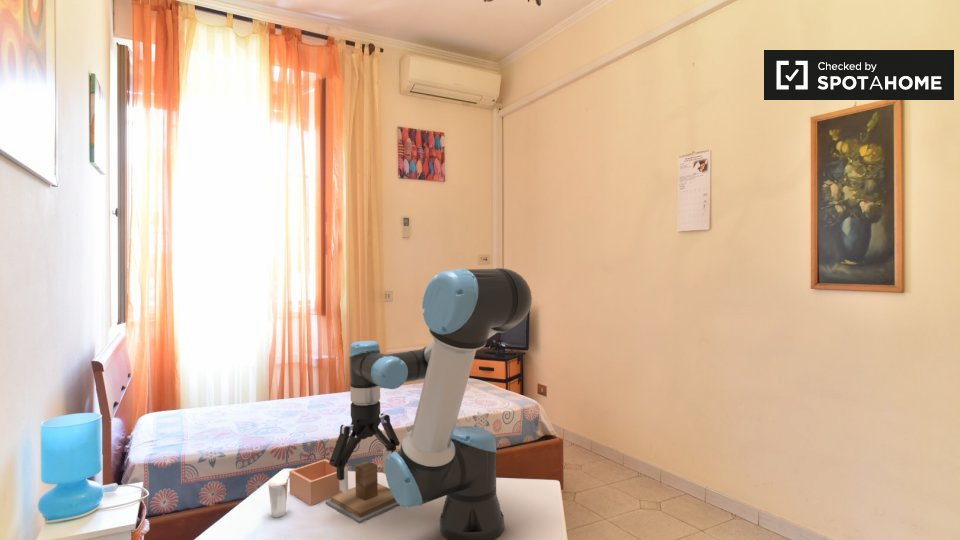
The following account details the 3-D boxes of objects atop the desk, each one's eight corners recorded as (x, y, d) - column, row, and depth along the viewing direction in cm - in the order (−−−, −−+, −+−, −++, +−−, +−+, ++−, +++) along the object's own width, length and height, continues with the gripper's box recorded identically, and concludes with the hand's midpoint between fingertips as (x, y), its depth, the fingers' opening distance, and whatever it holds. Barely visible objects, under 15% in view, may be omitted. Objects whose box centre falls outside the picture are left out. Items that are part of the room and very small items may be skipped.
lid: (402, 499, 136) (401, 464, 136) (360, 517, 127) (359, 480, 126) (372, 484, 145) (371, 452, 145) (330, 501, 135) (330, 466, 135)
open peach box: (347, 491, 143) (347, 469, 142) (310, 505, 134) (310, 482, 134) (325, 479, 150) (325, 459, 150) (289, 492, 142) (289, 470, 142)
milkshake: (285, 519, 127) (284, 479, 127) (265, 518, 128) (264, 477, 128) (294, 510, 132) (294, 471, 131) (275, 509, 133) (274, 470, 132)
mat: (407, 501, 136) (407, 499, 136) (359, 523, 125) (359, 520, 125) (373, 484, 146) (373, 482, 146) (325, 503, 135) (325, 501, 135)
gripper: (394, 389, 147) (395, 464, 147) (314, 409, 128) (315, 494, 129) (411, 394, 142) (412, 471, 142) (330, 415, 123) (332, 504, 124)
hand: (366, 482), depth 136 cm, fingers open, 13 cm apart
